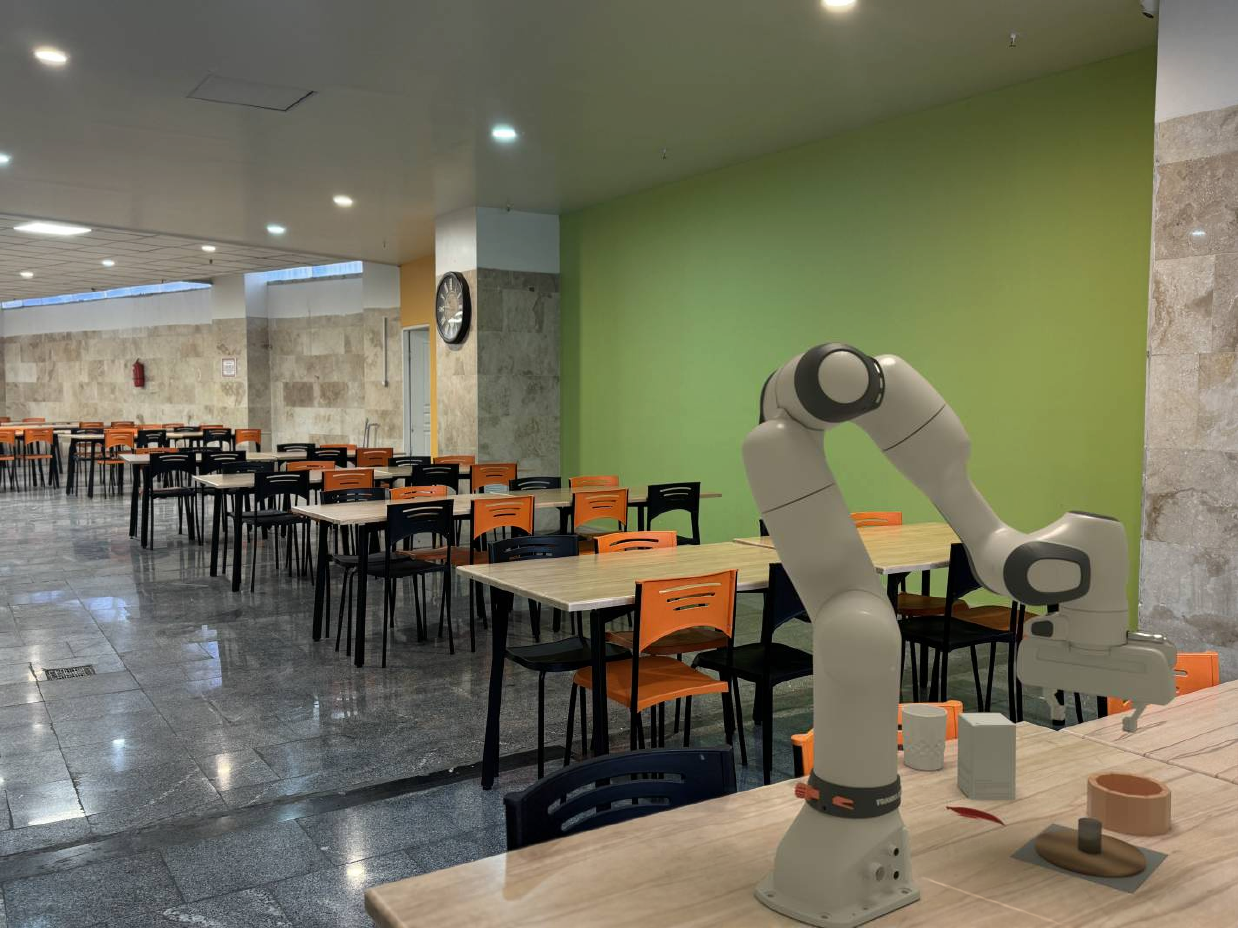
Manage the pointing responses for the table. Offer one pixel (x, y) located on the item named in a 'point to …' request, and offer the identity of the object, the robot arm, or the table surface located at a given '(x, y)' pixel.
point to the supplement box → (986, 756)
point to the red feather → (975, 814)
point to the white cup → (924, 736)
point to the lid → (1090, 851)
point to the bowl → (1129, 803)
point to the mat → (1124, 884)
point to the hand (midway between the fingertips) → (1093, 724)
